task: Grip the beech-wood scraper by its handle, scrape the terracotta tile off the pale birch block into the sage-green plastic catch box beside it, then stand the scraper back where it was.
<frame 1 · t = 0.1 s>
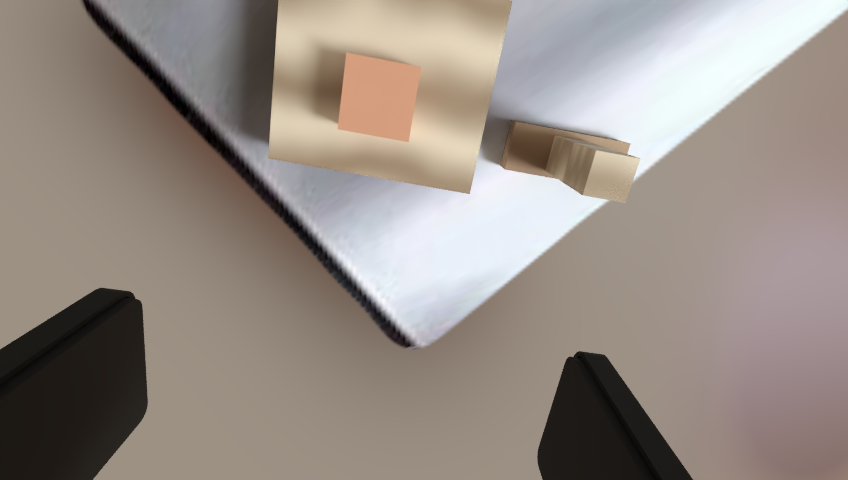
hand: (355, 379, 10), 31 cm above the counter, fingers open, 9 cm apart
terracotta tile: (381, 97, 33), point 5 cm above the counter, touching birch block
birch block: (388, 84, 37), on the counter
scraper: (559, 153, 39), on the counter
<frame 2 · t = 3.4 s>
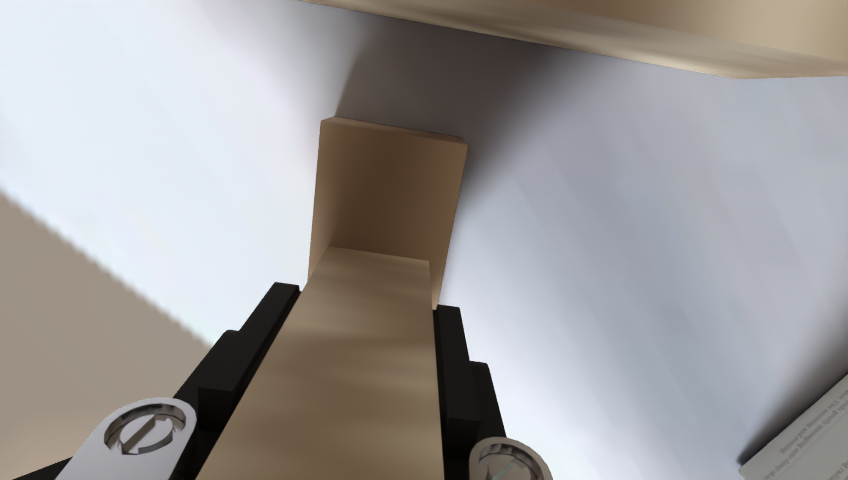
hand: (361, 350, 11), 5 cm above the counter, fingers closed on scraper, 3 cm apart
skincare box: (847, 426, 18), on the counter
scraper: (378, 272, 15), on the counter, touching gripper
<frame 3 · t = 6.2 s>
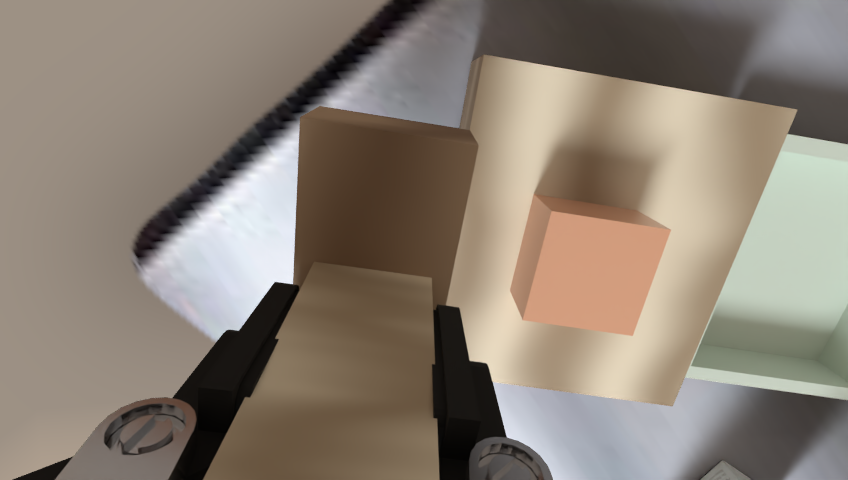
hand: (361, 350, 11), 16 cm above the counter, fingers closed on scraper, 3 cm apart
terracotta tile: (571, 251, 21), point 5 cm above the counter, touching birch block
catch box: (774, 258, 27), on the counter
birch block: (560, 224, 26), on the counter
scraper: (374, 282, 14), point 13 cm above the counter, touching gripper
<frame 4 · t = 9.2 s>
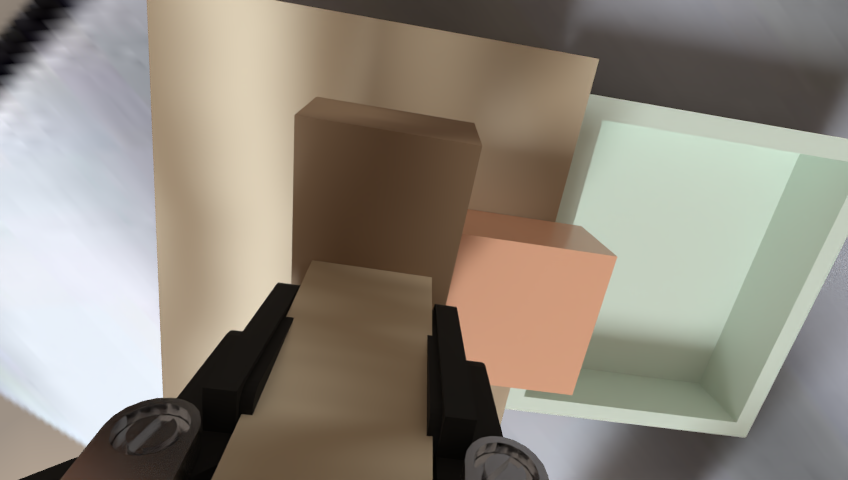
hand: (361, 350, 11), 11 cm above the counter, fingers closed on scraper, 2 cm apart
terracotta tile: (498, 279, 16), point 5 cm above the counter, touching scraper
catch box: (638, 259, 22), on the counter
birch block: (367, 219, 21), on the counter
scraper: (375, 274, 13), point 8 cm above the counter, tilted 10°, touching gripper, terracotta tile
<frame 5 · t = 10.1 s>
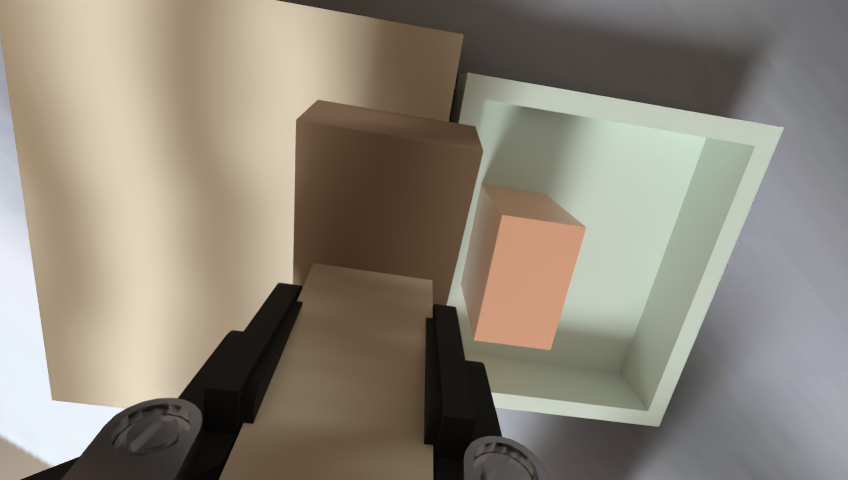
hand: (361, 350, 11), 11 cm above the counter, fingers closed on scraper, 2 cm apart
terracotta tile: (477, 255, 18), point 3 cm above the counter, tilted 90°, touching catch box
catch box: (552, 246, 21), on the counter
birch block: (273, 205, 20), on the counter
scraper: (375, 275, 13), point 8 cm above the counter, tilted 10°, touching gripper
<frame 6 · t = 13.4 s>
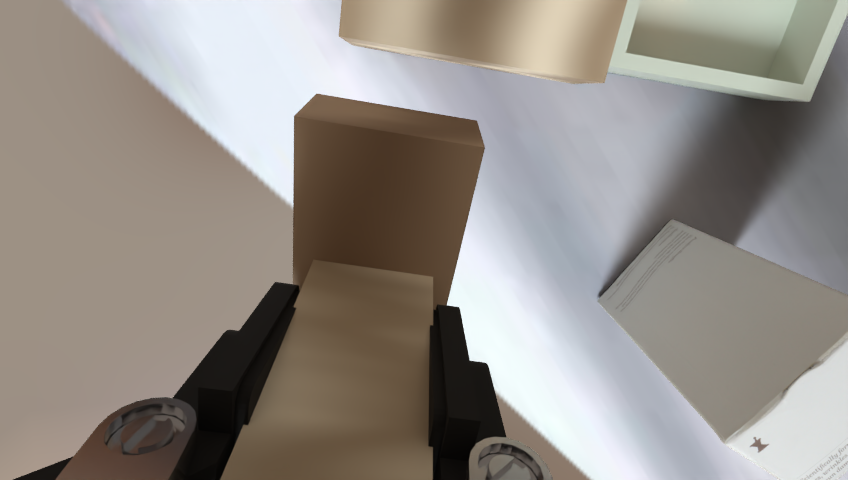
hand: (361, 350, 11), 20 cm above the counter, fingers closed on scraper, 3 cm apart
skincare box: (658, 275, 32), on the counter
scraper: (376, 270, 13), point 17 cm above the counter, tilted 12°, touching gripper
when the fingers open (6 cm above the counter, at t = 16.0 s): scraper drops 3 cm, on the counter.
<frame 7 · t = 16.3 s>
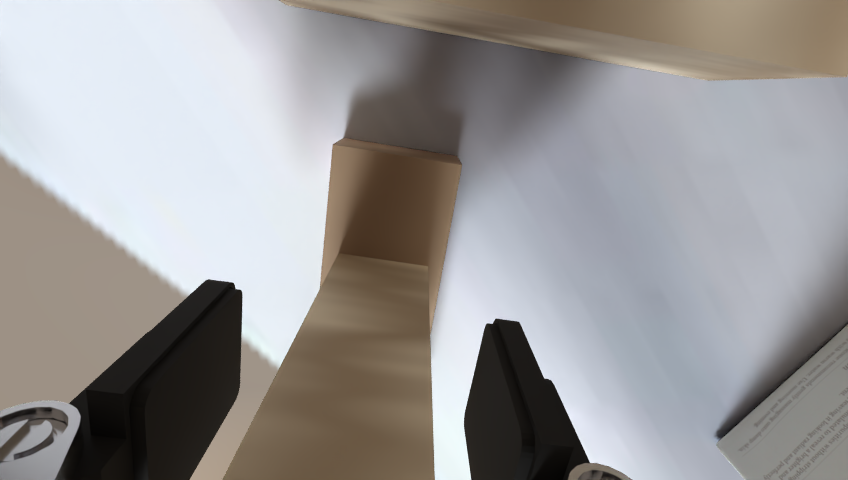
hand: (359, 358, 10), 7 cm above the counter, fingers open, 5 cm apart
skincare box: (817, 402, 19), on the counter
scraper: (382, 276, 17), on the counter
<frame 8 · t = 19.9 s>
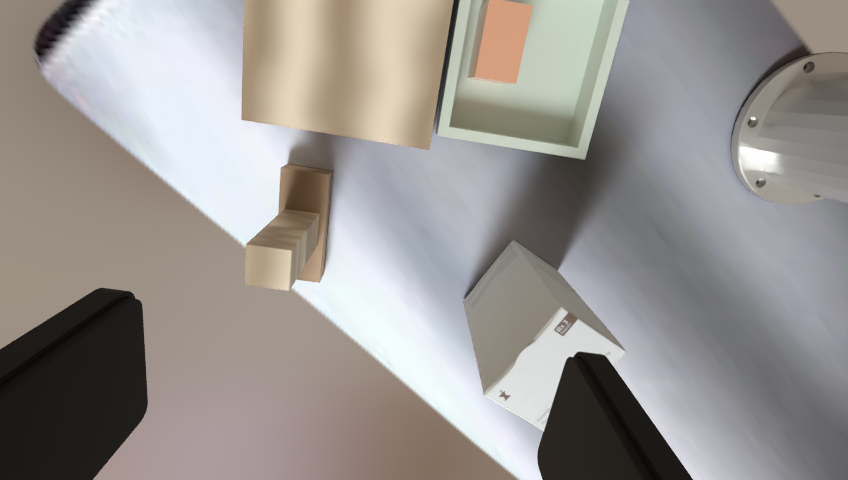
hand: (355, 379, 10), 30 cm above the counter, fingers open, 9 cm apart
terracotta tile: (477, 41, 32), point 3 cm above the counter, tilted 90°, touching catch box
catch box: (522, 56, 36), on the counter
skincare box: (509, 282, 42), on the counter
birch block: (357, 26, 35), on the counter
scraper: (306, 221, 40), on the counter
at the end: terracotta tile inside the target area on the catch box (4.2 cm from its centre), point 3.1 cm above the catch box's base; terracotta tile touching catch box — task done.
